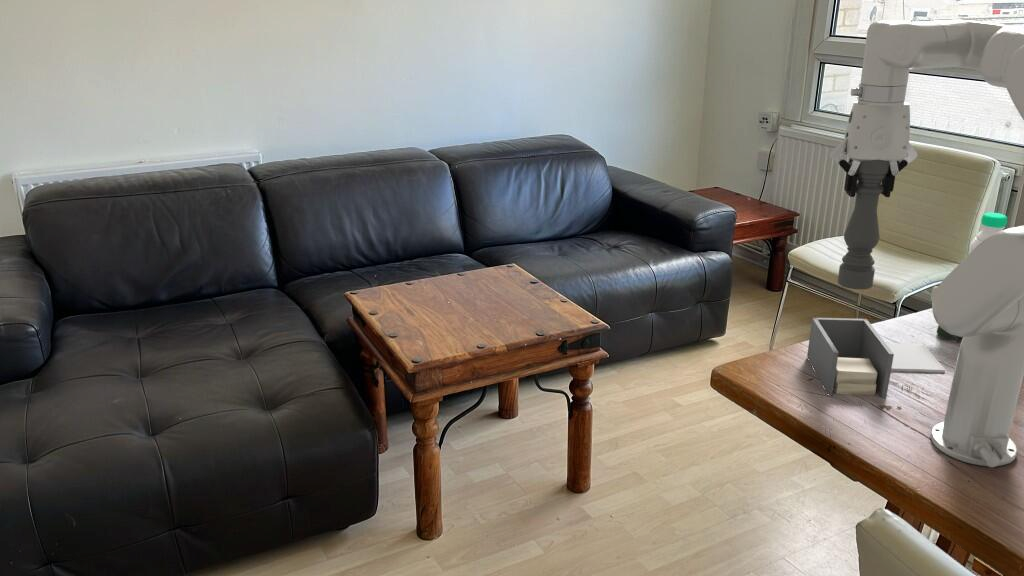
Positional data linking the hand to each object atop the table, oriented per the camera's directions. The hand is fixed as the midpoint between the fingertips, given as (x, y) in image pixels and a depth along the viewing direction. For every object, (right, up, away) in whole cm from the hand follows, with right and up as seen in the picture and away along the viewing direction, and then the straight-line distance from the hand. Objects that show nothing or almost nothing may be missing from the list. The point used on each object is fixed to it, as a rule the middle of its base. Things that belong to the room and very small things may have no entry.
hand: (867, 194), depth 149 cm
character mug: (+30, -28, +27) cm, 49 cm away
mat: (+15, -32, +18) cm, 39 cm away
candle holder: (0, -17, +6) cm, 18 cm away
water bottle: (+39, -25, +34) cm, 57 cm away
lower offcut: (0, -36, +7) cm, 37 cm away
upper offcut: (0, -34, +6) cm, 35 cm away
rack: (0, -35, +11) cm, 36 cm away
